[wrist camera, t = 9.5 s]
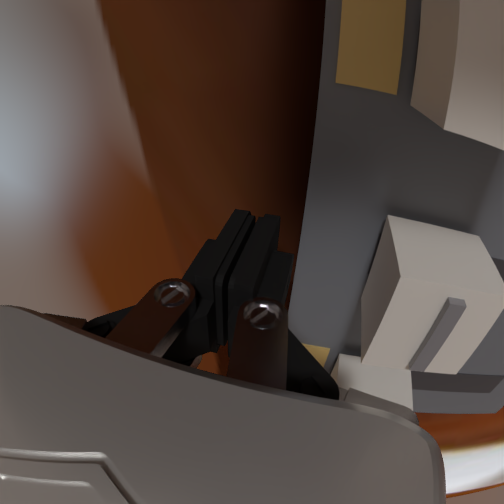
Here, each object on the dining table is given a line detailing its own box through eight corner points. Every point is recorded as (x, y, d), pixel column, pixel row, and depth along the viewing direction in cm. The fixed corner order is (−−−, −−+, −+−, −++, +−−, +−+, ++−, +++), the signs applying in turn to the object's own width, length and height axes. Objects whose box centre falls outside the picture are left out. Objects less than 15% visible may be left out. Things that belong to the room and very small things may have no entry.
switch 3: (478, 236, 10) (513, 303, 7) (442, 310, 12) (456, 380, 9) (387, 214, 11) (402, 283, 8) (361, 297, 13) (360, 370, 10)
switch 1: (410, 363, 15) (413, 426, 12) (384, 399, 17) (382, 454, 14) (339, 353, 15) (332, 418, 12) (323, 391, 18) (314, 447, 15)
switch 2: (525, 35, 5) (593, 41, 2) (510, 138, 8) (569, 182, 5) (422, -9, 6) (464, -38, 3) (410, 105, 8) (447, 132, 5)
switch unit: (630, 96, 4) (658, 110, 2) (489, 388, 19) (494, 415, 17) (331, -50, 8) (328, -74, 5) (279, 364, 22) (272, 395, 20)
